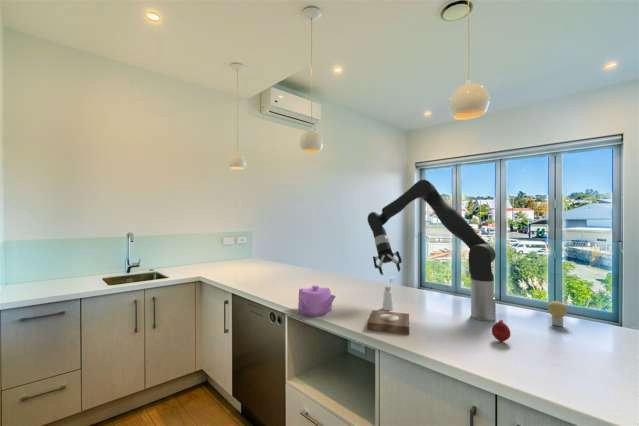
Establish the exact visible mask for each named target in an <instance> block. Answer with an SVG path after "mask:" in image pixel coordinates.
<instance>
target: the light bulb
mask: <svg viewBox="0 0 639 426" xmlns="http://www.w3.org/2000/svg"><path fill="white" fill-rule="evenodd" d="M547 310H548V313H549V314H550V315H551V324H552V325H554V326H556V327H563V326H564V317H565V316H566V315H567V314H568V308H567V306H566V305H565V304H564V303H563V302H561V301H559V300H552V301H550V302H548V304H547Z"/></svg>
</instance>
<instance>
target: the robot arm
mask: <svg viewBox="0 0 639 426" xmlns="http://www.w3.org/2000/svg"><path fill="white" fill-rule="evenodd" d="M419 198H421V199H422V200H423V201H425V202H426V204H427V205H429V206H430V207H431V208H432V210H433V211H434V214H435V215H436V217H437V219H438V220H439V221H440V223H441V224H442V225H443V226H444V227H445V229H446V230H448V231H449V232H450V234H452V235H454V236H455V237H456V238H458V239H459V240H461V241H462V242H463V243H464V245H465V246H467V248H469V250H468V272H469V274H470V317H471V318H473V319H476V320H479V321H488V322H491V321H496V320H497V313H496V312H497V310H496V309H497V305H496V302H497V300H496V298H495V284H494V283H495V277H494V276H495V275H494V274H493V271H492V262H494V261H495V259H496V251H495V249H494V247H493V246H491V245H490V244H489V243H488V242H487V241H486V240H485V239H483V237H482V236H480V235H479V233H477V232H476V231H475V230H474V229H473V227H472V226H471V225H470V224H469V223H468V221H467V220H466V219H465V218H464V217H463V215H462V214H461V213H460V212H459V211H458V210H457V209H456V208H455V207H453V206H452V205H451V204H450V202H447V200H446V199H444V198H443V197H442V195H441V194H440V193H439V192H438V190H437V189H436V186H434V184H433V183H432V182H431V181H429V180H428V179H420V180H418V181H417V182H415V183H414V184H413V185H412V186H411V187H410V188H409V189H407V190H406V191H405V192H404V193H403V194H401V195H400V196H399V197H397V198H396V199H394V200H392V201H391V202H390V203H389V204H387V205H386V206H383V208H382V209H381V214H379V213H378V212H375V211H372V212H370V213H368V216H367V223H368V225H369V228H370V229H371V232H372V234H373V238H374V244H375V247H376V252H377V256H375V255H374V256H373V257H372V260H373V266H374V269H378V270H379V271H378V272H379V274H380V275H381V276H384V273H383V269H382V266H383V265H384V264H387V263H391V262H392V263H393V264H395V265H396V266H395V267H396V268H397V272H399V273H400V271H401V266H400V264H401V263H402V256H401V255H400V252H399V251H398V250H397V251H396V252H393V251H392V247H391V244H390V240H389V237H388V234H387V232H386V229H385V227H384V225H385V224H386V223H387V222H389V220H390V219H391V218H392V217H394V216H396V215H397V214H399V213H401V212H402V211H403V210H404V209H405V208H406V207H407V206H408V205H409V204H410V203H412V202H413V201H415V200H417V199H419ZM394 256H395V257H397V259H396V258H395V257H394ZM378 260H379V263H378V264H377V261H378Z"/></svg>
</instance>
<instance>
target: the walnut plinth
mask: <svg viewBox="0 0 639 426" xmlns="http://www.w3.org/2000/svg"><path fill="white" fill-rule="evenodd" d="M367 331H375V332H384V333H385V332H386V333H393V334H402V335H410V314H409V313H406V312H395V311H387V310H384V311H383V310H374V309H372V310H371V313H370V315H369V318H368V321H367Z"/></svg>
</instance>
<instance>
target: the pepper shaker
mask: <svg viewBox="0 0 639 426" xmlns="http://www.w3.org/2000/svg"><path fill="white" fill-rule="evenodd" d="M391 288H392V287H391V286H388V285H386V286H384V291H383V301H382V310H384V311H387V312H391V311H393V310H394V302H393V293H392V291H391Z"/></svg>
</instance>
